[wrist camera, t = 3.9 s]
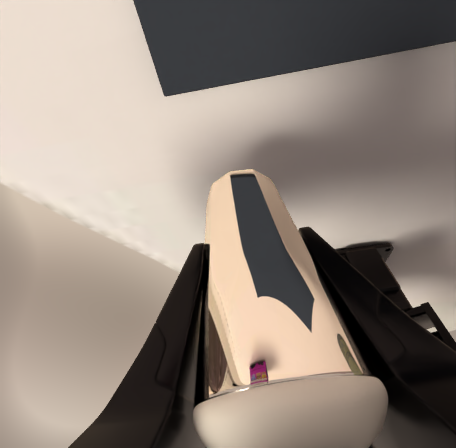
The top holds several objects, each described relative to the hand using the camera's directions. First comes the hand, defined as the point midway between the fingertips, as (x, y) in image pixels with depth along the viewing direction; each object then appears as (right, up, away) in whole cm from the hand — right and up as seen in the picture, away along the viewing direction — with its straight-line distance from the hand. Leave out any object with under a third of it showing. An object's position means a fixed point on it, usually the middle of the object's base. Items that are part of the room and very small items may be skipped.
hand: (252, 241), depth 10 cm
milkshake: (0, +2, +2) cm, 3 cm away
